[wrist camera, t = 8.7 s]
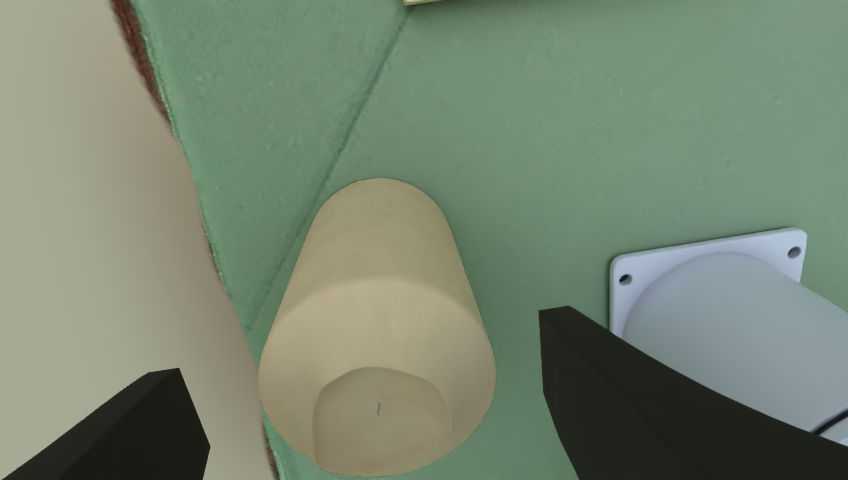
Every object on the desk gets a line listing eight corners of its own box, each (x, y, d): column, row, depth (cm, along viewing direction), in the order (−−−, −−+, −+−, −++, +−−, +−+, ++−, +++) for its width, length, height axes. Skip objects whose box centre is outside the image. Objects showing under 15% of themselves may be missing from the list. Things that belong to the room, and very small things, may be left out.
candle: (360, 328, 21) (342, 561, 12) (279, 223, 19) (180, 403, 10) (475, 264, 20) (554, 458, 11) (404, 147, 18) (426, 264, 9)
